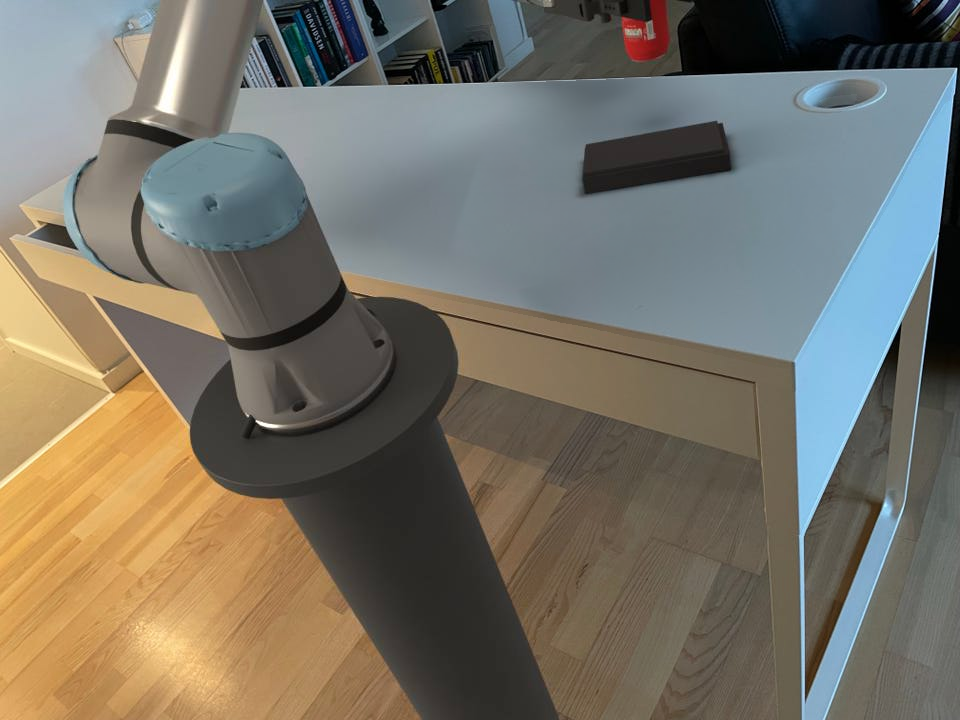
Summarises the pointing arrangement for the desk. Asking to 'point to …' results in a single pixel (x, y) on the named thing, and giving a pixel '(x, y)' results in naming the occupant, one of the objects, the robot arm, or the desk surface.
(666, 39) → the beverage can
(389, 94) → the desk surface
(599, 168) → the black flat box
